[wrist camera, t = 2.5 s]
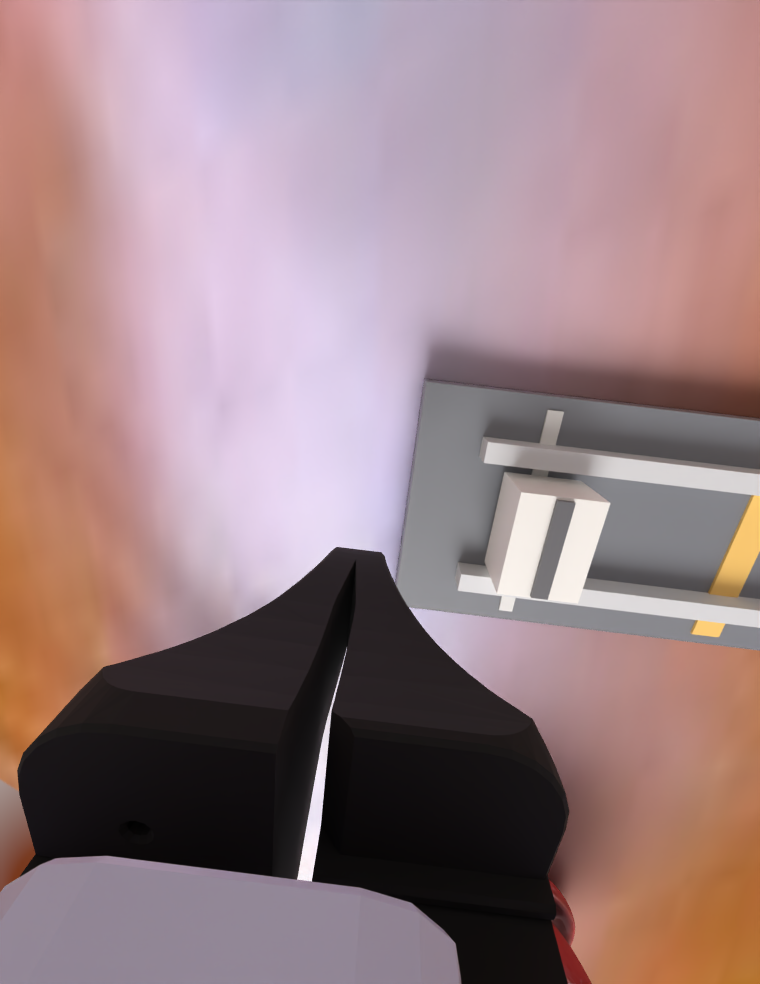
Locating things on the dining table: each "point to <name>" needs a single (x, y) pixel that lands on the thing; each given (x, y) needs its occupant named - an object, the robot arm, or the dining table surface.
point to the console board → (629, 522)
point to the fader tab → (544, 537)
